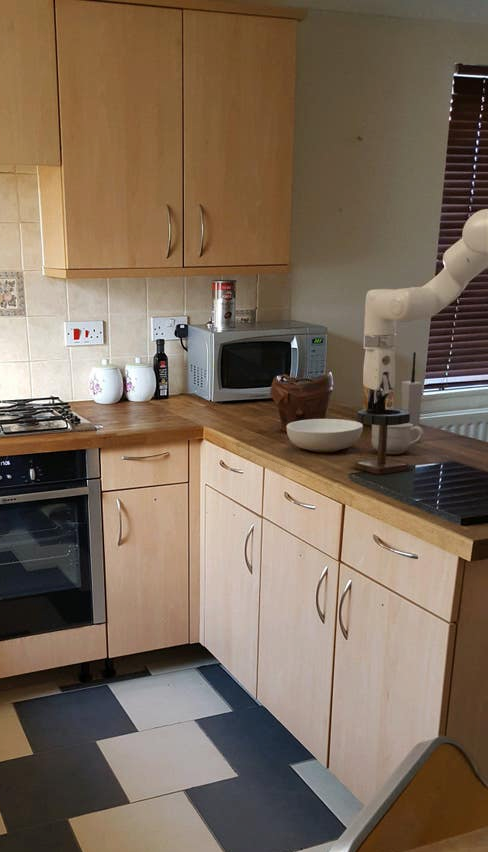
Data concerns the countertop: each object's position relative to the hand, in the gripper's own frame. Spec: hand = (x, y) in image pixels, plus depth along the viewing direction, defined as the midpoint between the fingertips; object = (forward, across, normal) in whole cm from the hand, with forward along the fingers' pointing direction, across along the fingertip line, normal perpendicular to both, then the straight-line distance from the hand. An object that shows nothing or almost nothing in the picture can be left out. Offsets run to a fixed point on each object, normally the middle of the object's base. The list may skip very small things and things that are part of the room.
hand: (375, 417), depth 219 cm
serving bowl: (+12, +24, +5) cm, 27 cm away
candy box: (+12, +57, -24) cm, 63 cm away
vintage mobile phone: (+12, +28, -22) cm, 38 cm away
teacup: (+12, +12, -11) cm, 21 cm away
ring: (0, -5, 0) cm, 5 cm away
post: (+12, -5, 0) cm, 13 cm away
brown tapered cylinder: (+12, +55, +2) cm, 57 cm away
